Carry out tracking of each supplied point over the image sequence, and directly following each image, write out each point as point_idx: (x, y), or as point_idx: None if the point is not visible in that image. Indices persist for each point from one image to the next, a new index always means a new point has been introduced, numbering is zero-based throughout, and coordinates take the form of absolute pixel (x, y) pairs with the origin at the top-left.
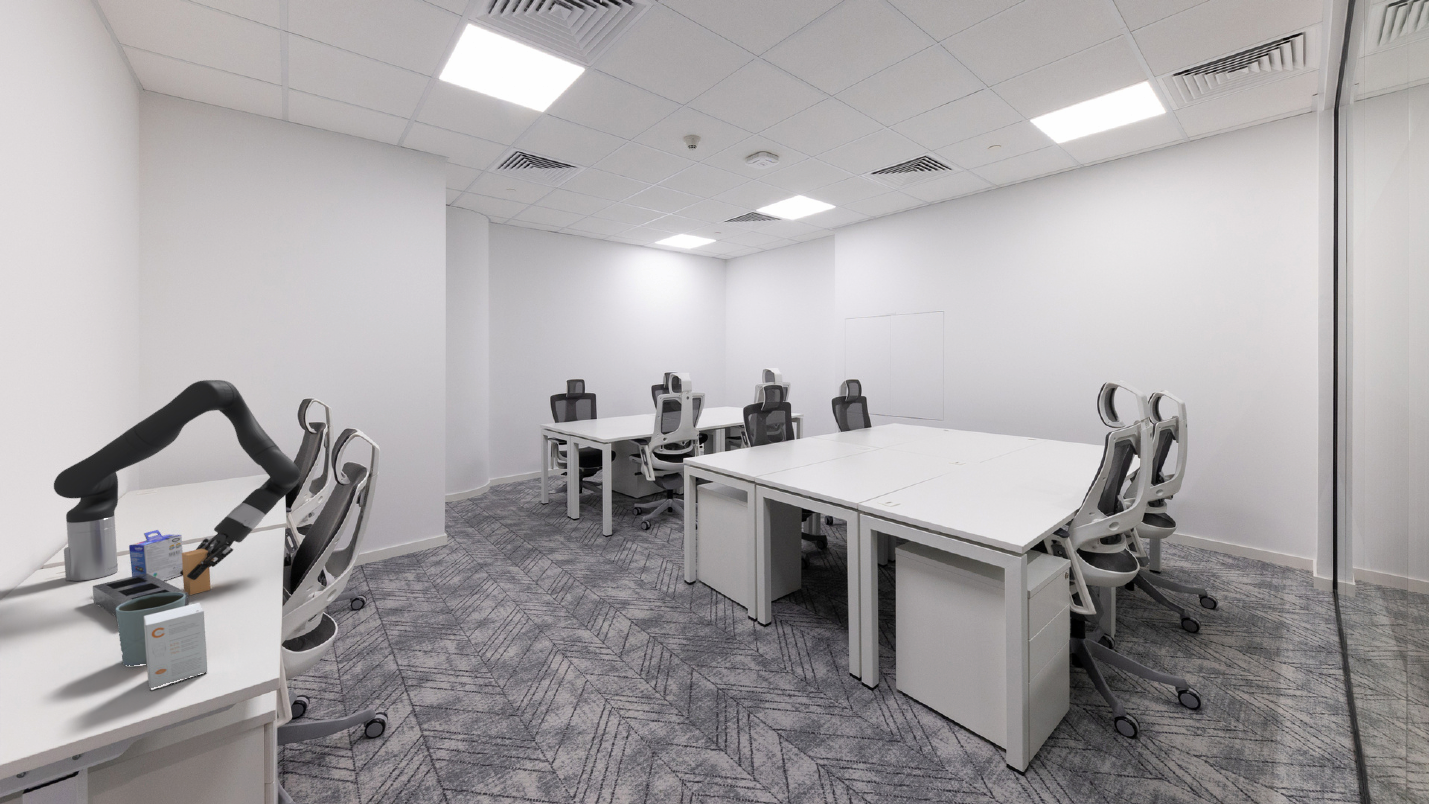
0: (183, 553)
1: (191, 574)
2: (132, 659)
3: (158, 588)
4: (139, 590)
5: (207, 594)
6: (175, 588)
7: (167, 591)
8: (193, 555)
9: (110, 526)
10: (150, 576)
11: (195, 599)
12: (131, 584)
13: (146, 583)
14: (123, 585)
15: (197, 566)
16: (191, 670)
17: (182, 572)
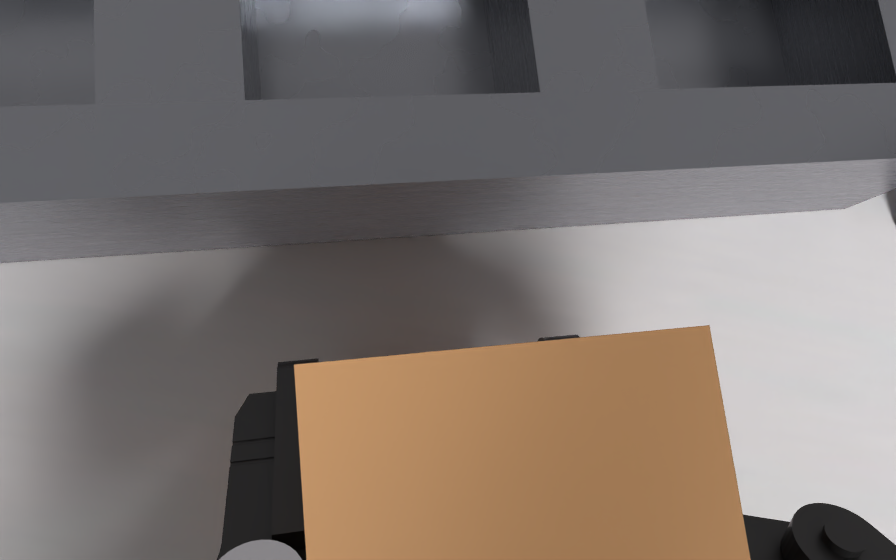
0: (623, 339)
1: (273, 403)
2: None
3: (217, 73)
4: (510, 23)
5: (187, 508)
6: (3, 180)
7: (20, 113)
8: (303, 481)
9: None
10: (823, 145)
11: (124, 394)
12: (837, 57)
13: (568, 57)
14: (833, 2)
15: (271, 499)
16: None
17: None
